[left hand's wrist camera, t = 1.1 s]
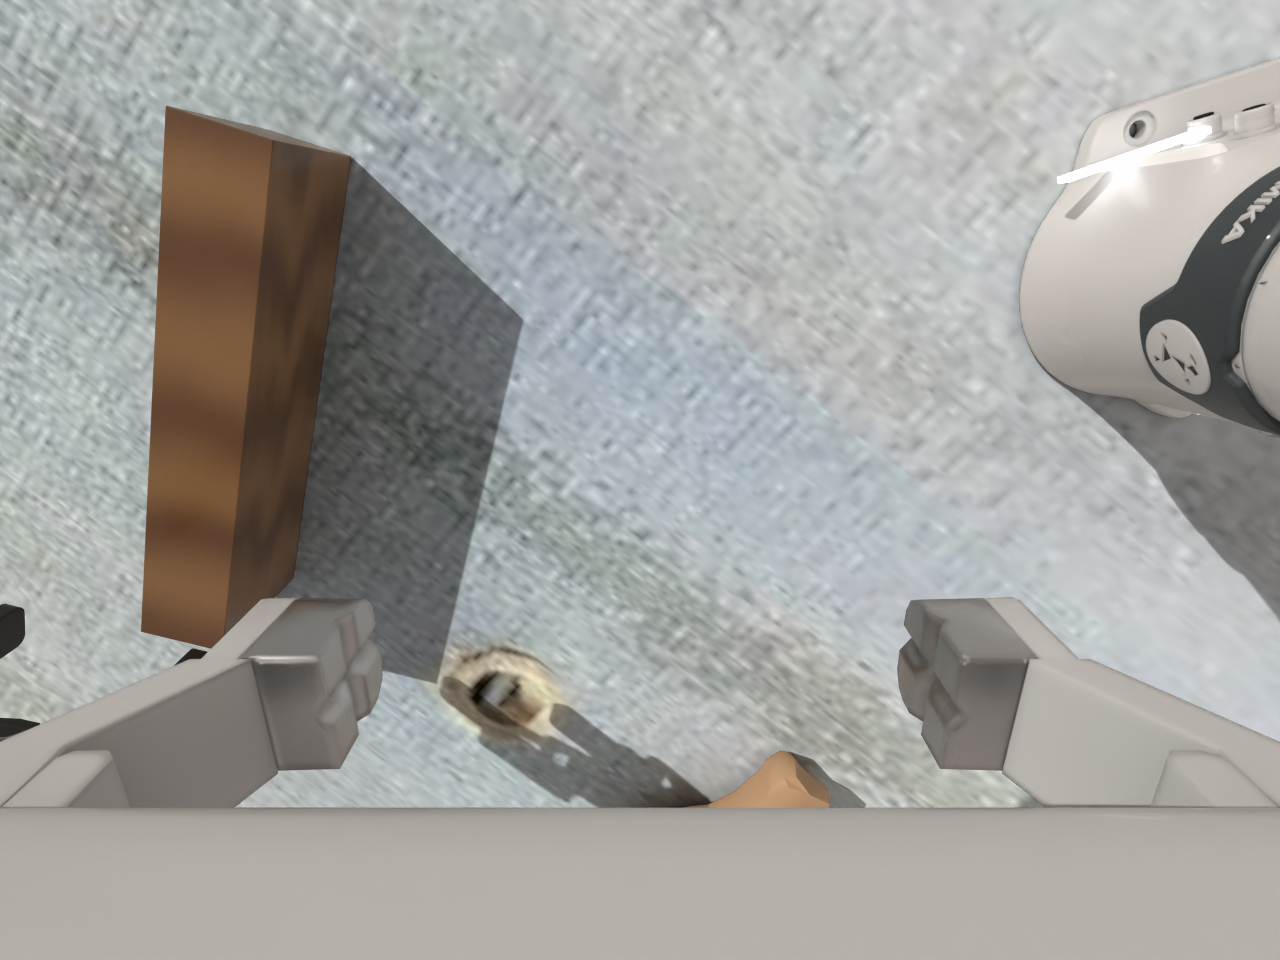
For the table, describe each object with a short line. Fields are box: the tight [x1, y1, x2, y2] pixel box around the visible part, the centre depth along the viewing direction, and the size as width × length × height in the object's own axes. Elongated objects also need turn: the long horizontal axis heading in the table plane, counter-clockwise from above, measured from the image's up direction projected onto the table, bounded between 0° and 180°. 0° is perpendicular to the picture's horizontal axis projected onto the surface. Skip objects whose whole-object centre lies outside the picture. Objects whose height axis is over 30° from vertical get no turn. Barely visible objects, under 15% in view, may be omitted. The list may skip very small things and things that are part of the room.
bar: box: [141, 106, 351, 649], centre depth 39 cm, size 28×5×9 cm, turn 163°
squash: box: [680, 751, 830, 808], centre depth 52 cm, size 11×20×9 cm, turn 137°
